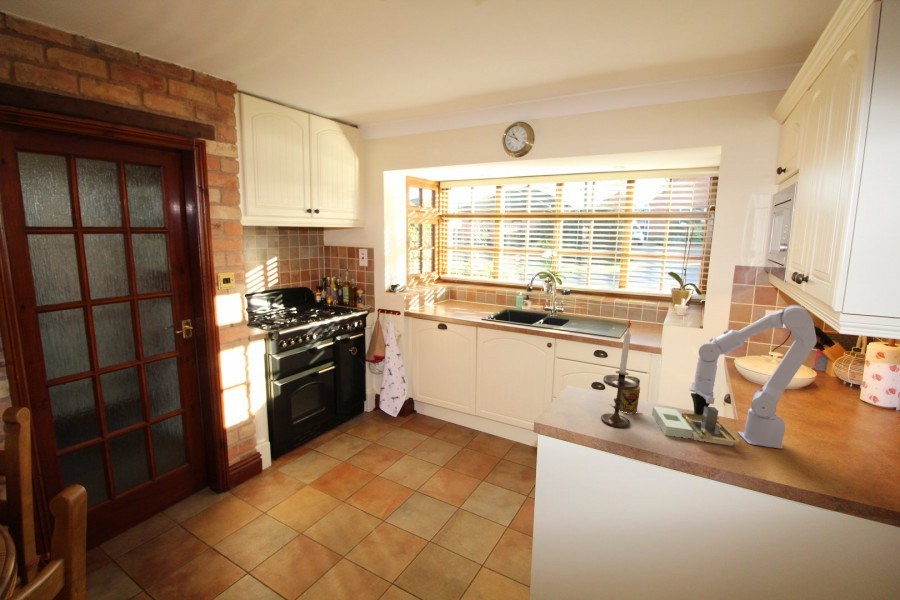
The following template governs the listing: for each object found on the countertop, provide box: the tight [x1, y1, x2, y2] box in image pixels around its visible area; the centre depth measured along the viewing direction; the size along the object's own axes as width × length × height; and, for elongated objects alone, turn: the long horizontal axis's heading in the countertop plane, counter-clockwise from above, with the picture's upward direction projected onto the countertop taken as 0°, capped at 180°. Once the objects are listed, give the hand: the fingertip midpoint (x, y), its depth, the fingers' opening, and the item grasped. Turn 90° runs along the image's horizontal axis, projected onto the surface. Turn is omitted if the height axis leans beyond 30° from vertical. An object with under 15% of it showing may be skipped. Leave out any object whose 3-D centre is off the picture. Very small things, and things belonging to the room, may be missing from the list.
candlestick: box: [600, 319, 640, 429], centre depth 140 cm, size 11×11×35 cm
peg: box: [691, 406, 723, 437], centre depth 137 cm, size 8×8×9 cm
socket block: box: [685, 420, 734, 447], centre depth 138 cm, size 11×11×2 cm
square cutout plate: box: [651, 406, 693, 439], centre depth 142 cm, size 8×16×3 cm, turn 169°
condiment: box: [610, 375, 643, 415], centre depth 154 cm, size 7×8×12 cm
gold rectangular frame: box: [681, 411, 742, 445], centre depth 136 cm, size 11×18×2 cm, turn 169°
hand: (698, 415), depth 146 cm, fingers closed
